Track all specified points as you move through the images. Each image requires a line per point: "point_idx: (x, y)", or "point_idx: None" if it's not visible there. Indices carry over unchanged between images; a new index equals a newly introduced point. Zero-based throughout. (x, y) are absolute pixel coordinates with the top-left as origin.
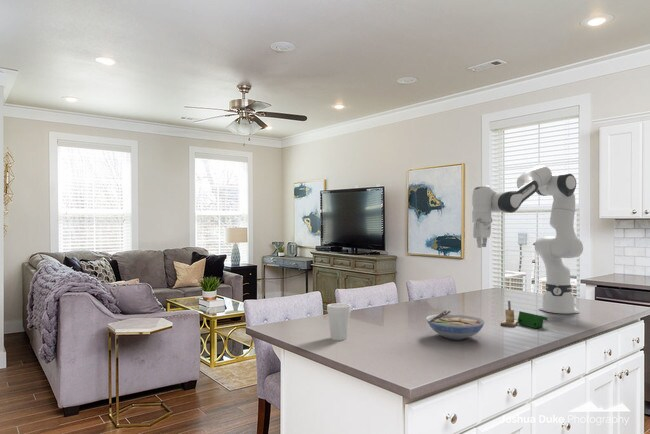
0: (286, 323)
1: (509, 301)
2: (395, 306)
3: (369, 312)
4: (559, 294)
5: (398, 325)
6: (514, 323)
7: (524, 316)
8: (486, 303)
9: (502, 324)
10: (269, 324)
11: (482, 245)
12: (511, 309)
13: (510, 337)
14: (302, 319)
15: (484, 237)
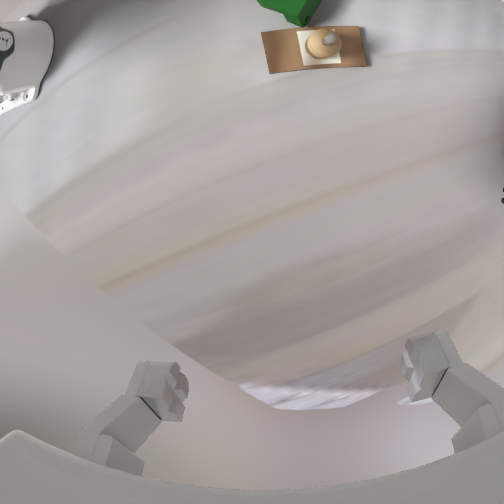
0: None
1: (337, 35)
2: (273, 370)
3: (370, 368)
4: (10, 35)
5: (469, 276)
6: (344, 29)
7: (311, 1)
8: (60, 242)
9: (364, 60)
10: None
11: (184, 397)
12: (313, 38)
13: (469, 34)
14: None
15: (400, 478)
